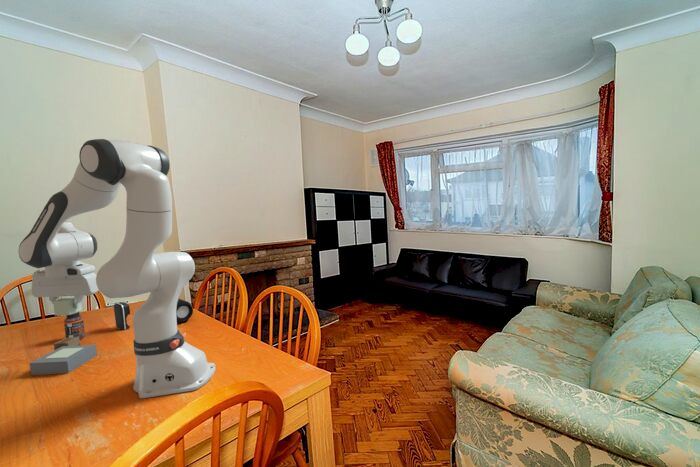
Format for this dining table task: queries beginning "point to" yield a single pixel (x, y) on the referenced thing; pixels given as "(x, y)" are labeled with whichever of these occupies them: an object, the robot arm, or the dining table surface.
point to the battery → (121, 315)
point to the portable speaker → (183, 310)
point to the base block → (63, 359)
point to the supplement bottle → (74, 326)
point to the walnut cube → (67, 342)
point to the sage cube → (65, 306)
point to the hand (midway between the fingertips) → (68, 308)
